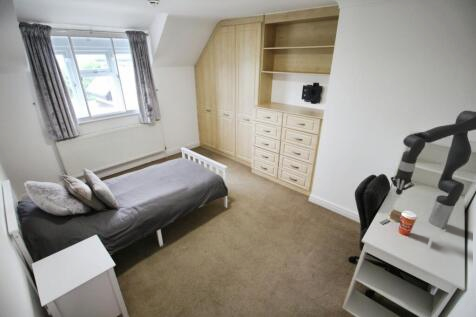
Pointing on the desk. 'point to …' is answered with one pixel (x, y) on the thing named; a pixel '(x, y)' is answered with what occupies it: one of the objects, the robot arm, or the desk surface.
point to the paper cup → (407, 222)
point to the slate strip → (384, 221)
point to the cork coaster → (394, 220)
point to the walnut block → (395, 215)
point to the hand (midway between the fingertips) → (398, 194)
